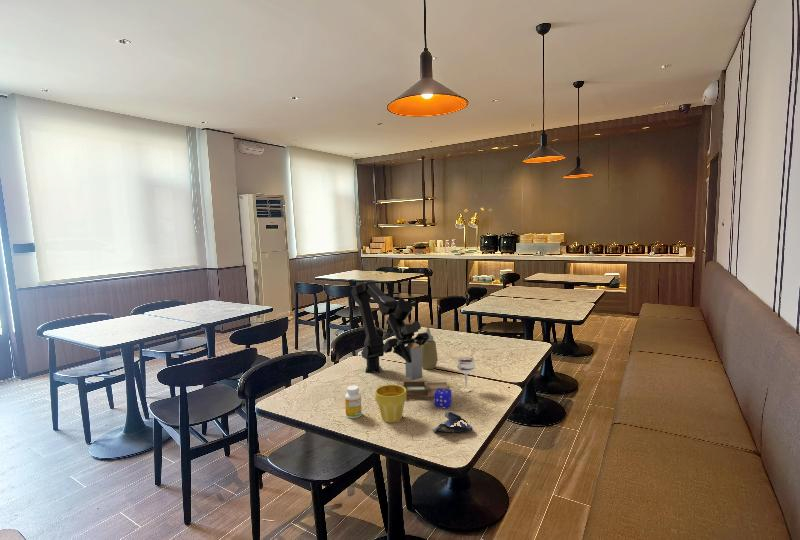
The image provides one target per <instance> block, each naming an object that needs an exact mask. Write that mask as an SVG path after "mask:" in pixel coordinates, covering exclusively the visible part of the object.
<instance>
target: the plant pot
mask: <svg viewBox="0 0 800 540" xmlns="http://www.w3.org/2000/svg"><path fill="white" fill-rule="evenodd" d="M374 397H375V402H376V403H377V405H378V408H379V412H380V416H381V417H380V418H381V420H382V421H383V422H385V423H397V422H399V421H401V420H402V418H403V413H404V407H405V402H406V401H407V400H406V399H407V392H406V388H405V387H403V386H400V385H397V384H385V385H381V386H379V387H377V388H376V389H375V391H374Z"/></svg>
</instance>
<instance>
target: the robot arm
mask: <svg viewBox="0 0 800 540" xmlns="http://www.w3.org/2000/svg"><path fill="white" fill-rule="evenodd" d="M376 284H377V283H376V282H375V281H373V280H371V281H364V282H362V283H361V284H357V285H354V286H353V287H352V288H351V296H352V299H353V300H354V302H355V303H356V304H357V305H358V307H359V308H358V309H359V311H360V316H361V321H362V324H363V329H364V333H365V340H364V342H363V345H364V348H363V349H362V350H361V353H360V354H361V358H364V359H365V360H366V367H365V371H364V372H365V373H380V372H381V369H382V368H381V367H382V366H381V365H380V357H384V355H385V354H387V353H391V352H392V353H393V354H396V355H398V356H399V357H401V358H402V359H403V360H404V361H405V360H406V361H407V362H408V363H411V360H410V357H409V355H408V353H407V351H406V349H405V346H407V344H411V343H416V344H419V346H421V345H424V344H425V343H426V341H427V340H428V339H429V335H428V333H426V331H424V332H420V333H419V330H421V328H422V327H421V324H420V322H419V321H418V320H417V321H414V322H412V324H411V323H410V324H406V321H405V320H407V318H408V316H410V314H411V312H412V311H413V305H412V304H411V303H410V302H409V301H407V300H405V298H399V299H398V300H397V299H395V298H394V297H393V296H392V297H391V296H388V295H387V294H385V292H383V291H382V290H381V288H380V287H379V286H378V285H376ZM371 299H373V300H374V301H375V303H377V305H378V310H379V312H380V313H381V314H382V315H383V316H388V315H389V316H388V317H387V319H386V321H385V322H386V325H389V326H390V329H391V330H392V336H393V337H395V338H388V339H386V340H385V342H384V339H383V337H382V335H379V334H378V332H377V329H376V323H375V320H374V316H373V312H372V307H371V305H370V302H371ZM415 333H417V334H416V336H415ZM414 336H415V337H414ZM384 353H385V354H384Z"/></svg>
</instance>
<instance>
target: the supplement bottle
mask: <svg viewBox="0 0 800 540" xmlns="http://www.w3.org/2000/svg"><path fill="white" fill-rule="evenodd" d="M344 400H345V401H344V403H345V405H344V406H345V416H346V417H347V418H349V419H357V418H359V417H360V418H361V416H362V414H363V413H362V409H363V407H362V394H361V393H360V389H359V386H358V385H349V386H347V387H346V394H345V395H344Z"/></svg>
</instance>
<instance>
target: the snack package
mask: <svg viewBox="0 0 800 540" xmlns="http://www.w3.org/2000/svg"><path fill="white" fill-rule="evenodd" d="M444 417H445V418H446V419H448V420H446V421H443V422H442V423H439V424H438V425H437V427H435V428H433V429H432V432H433V433H436V432H446V433H447V432H448V433H459V432H461V431H469V432H472V431H473V429H474V428H473V426H472V425H470V424H468V421H467V420H466V419H464V418H462V416H461V415H459V414H458V413H455V412H453V411H449V410H447V411H446V412H445V413H444ZM460 420H463V421H464V422H466V423H467V426H466V425H465V424H463V423H462V422H460V425H461V427H460V426H457V424H456V426H454V427H450V426H451V425H454V423H457V422H458V421H460Z"/></svg>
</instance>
